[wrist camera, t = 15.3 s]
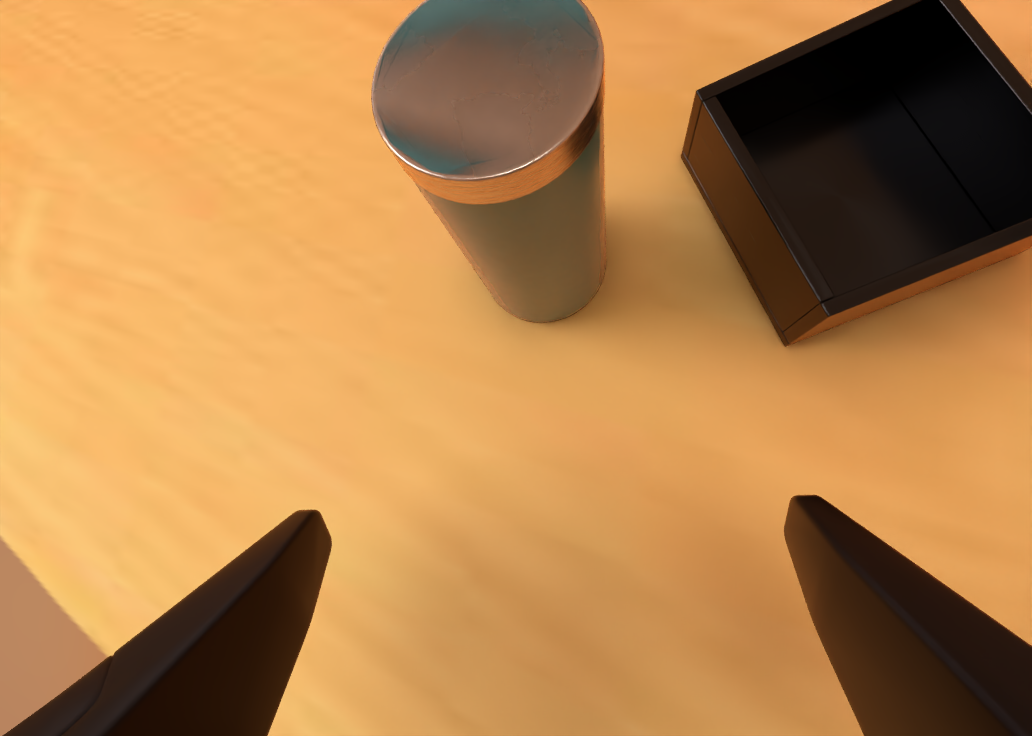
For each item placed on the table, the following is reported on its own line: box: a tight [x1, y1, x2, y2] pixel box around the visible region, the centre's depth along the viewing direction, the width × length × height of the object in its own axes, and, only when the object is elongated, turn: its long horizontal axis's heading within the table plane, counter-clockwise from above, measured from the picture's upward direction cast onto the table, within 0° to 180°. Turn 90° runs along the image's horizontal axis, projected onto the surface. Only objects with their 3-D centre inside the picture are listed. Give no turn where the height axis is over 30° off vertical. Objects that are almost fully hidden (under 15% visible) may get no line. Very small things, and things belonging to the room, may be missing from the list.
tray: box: [681, 0, 1032, 346], centre depth 20 cm, size 11×10×4 cm
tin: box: [371, 0, 606, 322], centre depth 19 cm, size 6×6×12 cm
